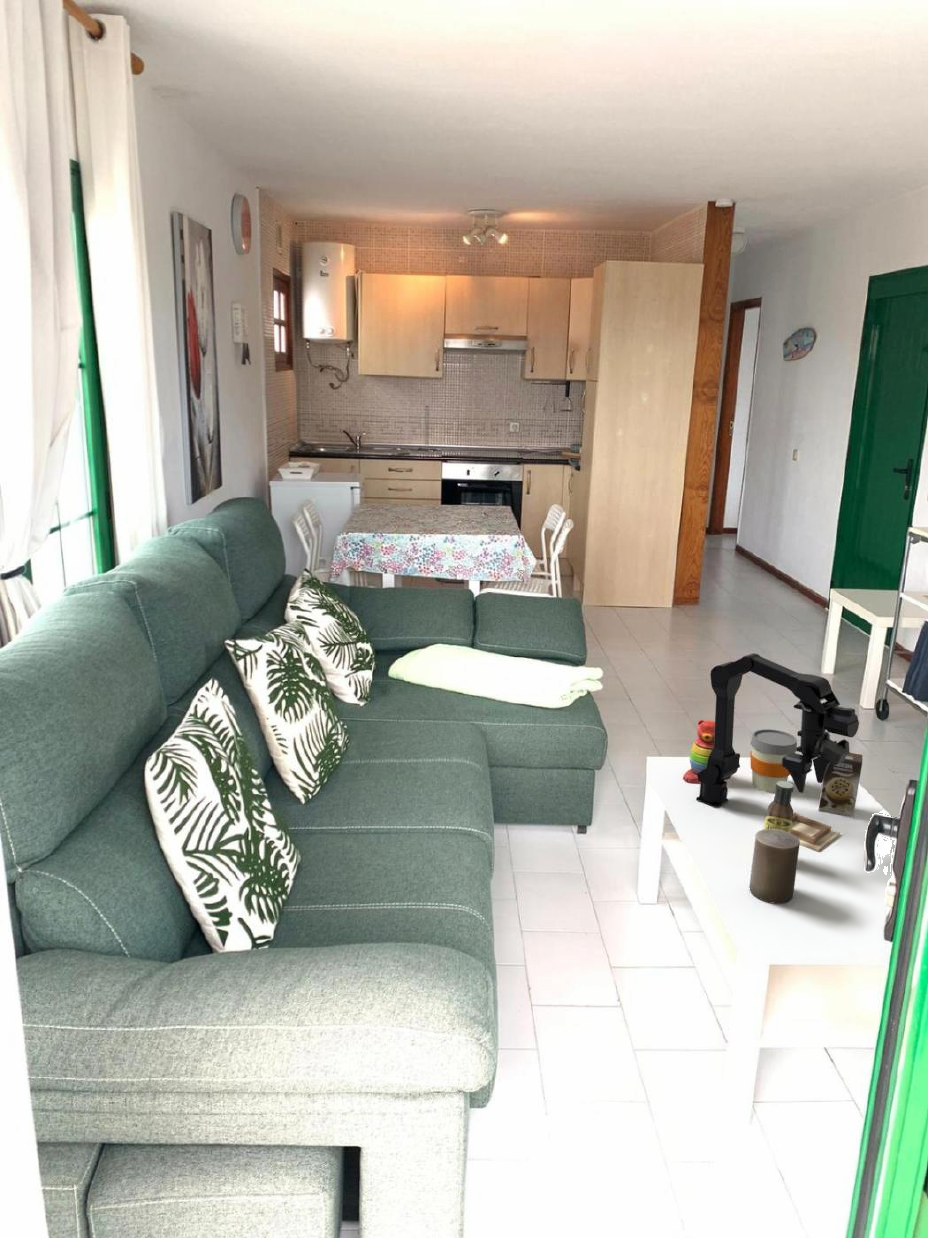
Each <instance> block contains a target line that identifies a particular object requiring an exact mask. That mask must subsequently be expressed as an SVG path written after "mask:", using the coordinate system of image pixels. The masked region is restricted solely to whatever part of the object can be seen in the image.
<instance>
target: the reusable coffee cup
mask: <svg viewBox="0 0 928 1238" xmlns="http://www.w3.org/2000/svg"><path fill="white" fill-rule="evenodd" d="M750 745H751V751H750V753H749V754H750V755H749V756H750V757H749V758H750V769H751V775H752V776H751V777H752V778H751V784H752V786H753V788H755V789H757V788H758V789H757V790H759V791H761V790H762V792H764V791H765V793H770V794H771V793H773V794H775V792H776V788H775V787H776V783H777V782H778V781H786V782H788V779H789V776H791V775H790V773H789V771H788V770H787V769H785V767H783V766H782V758H783V757H785V756H786V755H789V754H791V753H796V752H798V751H797V747H798V739H797V738H796V737H795V736H794V735H792V734H790V733H788V732H787V731H786V732H785V731H782V730H776V729H769V728H768V729H764V728H763V729H758V730H756V731H754V732H753V733H752V736H751V740H750Z"/></svg>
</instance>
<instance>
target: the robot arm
mask: <svg viewBox="0 0 928 1238" xmlns="http://www.w3.org/2000/svg"><path fill="white" fill-rule="evenodd" d="M750 672H751V673H753V674H755V675H758V676H759V677H762V678H764V679H766V680H768V681H771V682H773V683H775V684H777V685H779V686H781V687H784V688H786V689H788V690H789V691H790V692H791V693H792V694H793V695H794V697H796V698H797V699H799V701H798V702H797V703H795V704H794V705H793V709H798V710H801V721H800V723H801V724H800V725H801V726H800V730H799V731H797V736H798V737H800V744H799V746H797V751H796V752H799V753H796V752H795V753H791V754H789V755H786V756H785V757H783V758H782V766H783V767H785V769H787V770H788V771H789V773H790V775H789V776H791V778H792V780H793V783H794V786H795V788H796V790H797V792H798V793H800V794H803V793H804V790H805V786H806V780H807V775H808V774H809V773H810V772H812V771H813V769H814V774H815V777H816V778H815V779H816V782H817V783H819V784H822V782H823V779H824V777H825V774H826V771H827V769H828V766H829V764H830V762H831V763H832V764H834V765H838V764H839V763H841V762H844V760H845V758H846V756H847V755H848V754H850V753H851V752H850V741H848V740H846V739H842V740H839V741H837V740H832V739H831V734H835V735H839V736H843V737H848V738H854V737H855V736H856V734H857V732H858V730H859V726H860V720H859V717H858V714H856V709H855V708H849V707H843V706H841V703H840V701H839V700H838V698H837V697H836V695H835V693H834V692H833V690H832V686H831V684H830V681H829V680H828V679H827V678H825V677H822V676H820V675H819V676H818V675H815V674H807V673H801V672H800V673H799V672H797V671H795V670H792V669H790V668H788V667H785V666H783V665H781V664H778V663H776V662H774V661H772V660H770V659H768V658H765V657H763V656H761V655H759V654H758V653H755V652H754V653H750V654H746V655H743V656H742V657H741V658H739V659H737V660H735V661H728V662H724V663H721V664H719V665H715V666H714V667H713V668H711V671H710V673H709V674H710V675H709V676H710V683H711V684H710V685H711V688H712V690H713V692H714V694H715V712H714V715H715V716H714V722H715V732H714V747H713V749H712V751H711V753H710V755H709V757H708V761H707V766H706V768H705V769H704V770H702V771H701V772H699V773H697V777H698V781H699V782H701V784H699V787H700V788H699V795H698V796H697V797H696V798H695V800H696V801H698V802H701V803H704V804H705V805H709V806H711V807H713V808H719V807H720V806H722V805H723V804H725V803H727V802H728V800H729V798H728V790H729V788H728V786H727V785H728V781H727V780H730V779H731V778H732V776H733V775H735V774H736V773H737V772H738V769H739V768H740V767H741V765H740V758H741V754H740V753H739V752H736V751H735V750H734V746H733V743H734V740H733V739H734V721H735V701H736V695H737V693H738V691H739V689H740V687H741V684H742V680H743V676H744V675H746V674H748V673H750ZM821 701H824V702H821ZM830 733H831V734H830ZM800 753H801V754H800ZM812 767H813V769H812Z"/></svg>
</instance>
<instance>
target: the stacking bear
mask: <svg viewBox="0 0 928 1238" xmlns="http://www.w3.org/2000/svg"><path fill="white" fill-rule="evenodd" d="M697 724H698V727H697V732H696V733H697V737H698V738H696V739H695V741H694V742H693V745H692V747H691V751H690V754H689V763H690V767H691V768H690V769H688V770H687V771H686V772H685V773H684V774H683V775H682V776H683V777H682V779H683V781H684V782H686V783H689V784H699V785H701V782H699V781H698V777H697V773H699V772H701V771H702V770H704V769H705V768H706V766H707V761H708V757H709V755H710V753H711V751H712V749H713V747H714V732H715V720H714V721H713V720H703V719H701V720H699V721H698V722H697Z"/></svg>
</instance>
